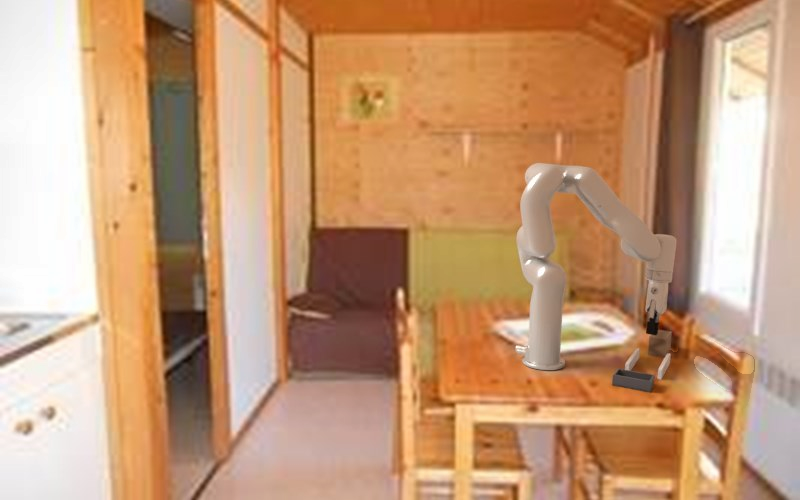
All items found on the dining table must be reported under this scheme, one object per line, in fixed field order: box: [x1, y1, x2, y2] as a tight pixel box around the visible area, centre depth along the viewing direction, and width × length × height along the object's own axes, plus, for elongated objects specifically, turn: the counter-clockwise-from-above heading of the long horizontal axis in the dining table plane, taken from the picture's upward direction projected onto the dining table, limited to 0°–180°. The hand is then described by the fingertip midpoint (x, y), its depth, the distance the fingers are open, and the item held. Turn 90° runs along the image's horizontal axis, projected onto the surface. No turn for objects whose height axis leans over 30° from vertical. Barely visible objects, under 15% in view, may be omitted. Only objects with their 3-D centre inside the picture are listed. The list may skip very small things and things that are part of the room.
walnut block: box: [647, 329, 673, 359], centre depth 210 cm, size 5×10×6 cm, turn 149°
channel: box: [624, 347, 672, 381], centre depth 195 cm, size 10×16×3 cm, turn 150°
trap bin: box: [611, 368, 656, 393], centre depth 182 cm, size 10×6×3 cm, turn 60°
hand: (651, 333), depth 201 cm, fingers closed
